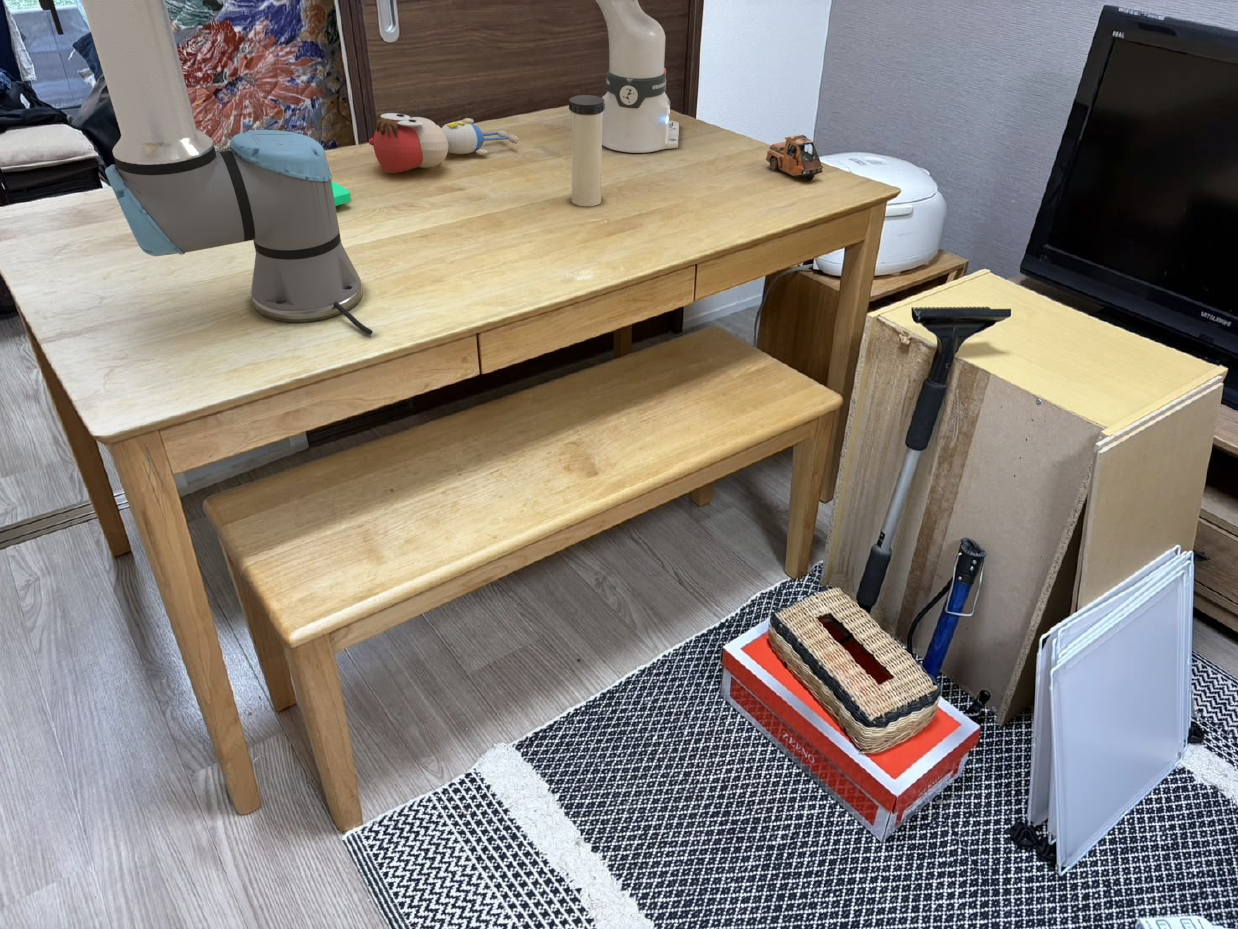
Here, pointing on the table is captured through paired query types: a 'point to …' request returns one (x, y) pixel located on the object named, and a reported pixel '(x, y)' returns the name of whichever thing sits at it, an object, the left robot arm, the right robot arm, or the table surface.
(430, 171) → the table surface
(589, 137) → the jar
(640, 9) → the right robot arm
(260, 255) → the left robot arm
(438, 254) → the table surface
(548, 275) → the table surface
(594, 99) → the lid
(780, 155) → the toy car
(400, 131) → the toy
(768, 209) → the table surface
